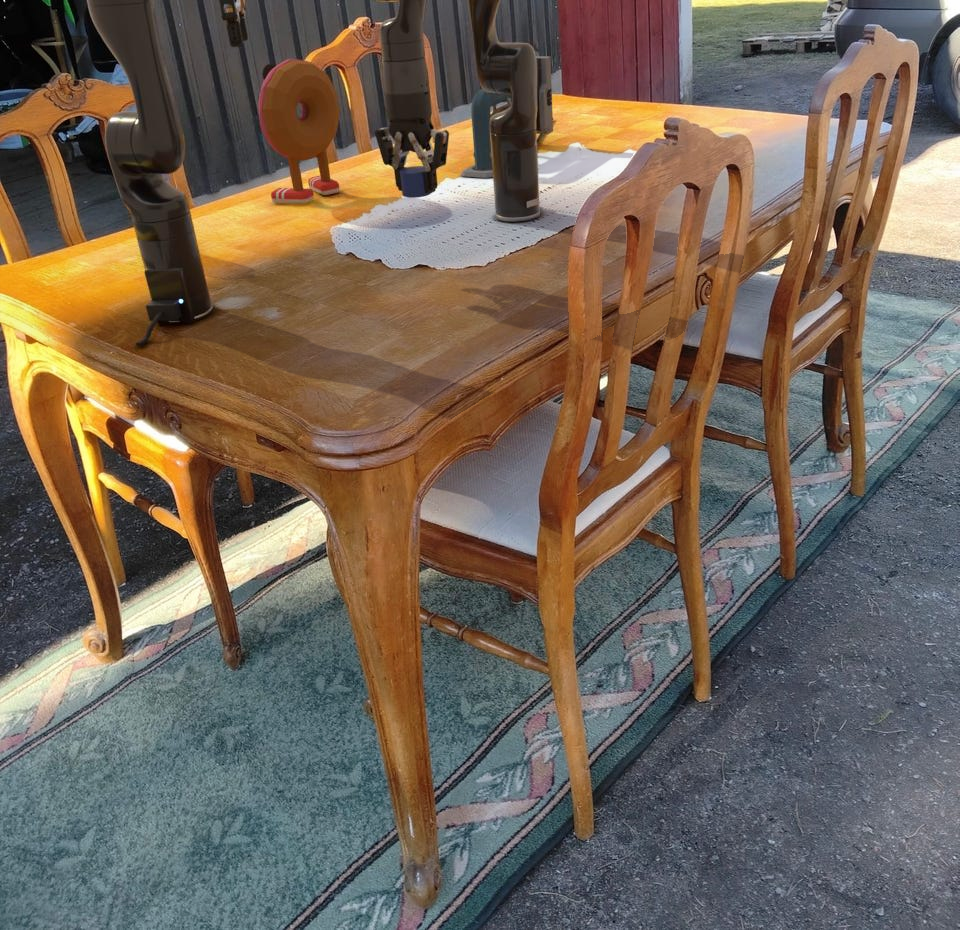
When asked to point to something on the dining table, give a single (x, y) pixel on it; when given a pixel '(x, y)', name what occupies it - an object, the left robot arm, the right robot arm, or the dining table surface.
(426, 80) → the right robot arm
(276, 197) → the toy
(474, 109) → the clamp
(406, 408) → the dining table surface
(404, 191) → the canister
